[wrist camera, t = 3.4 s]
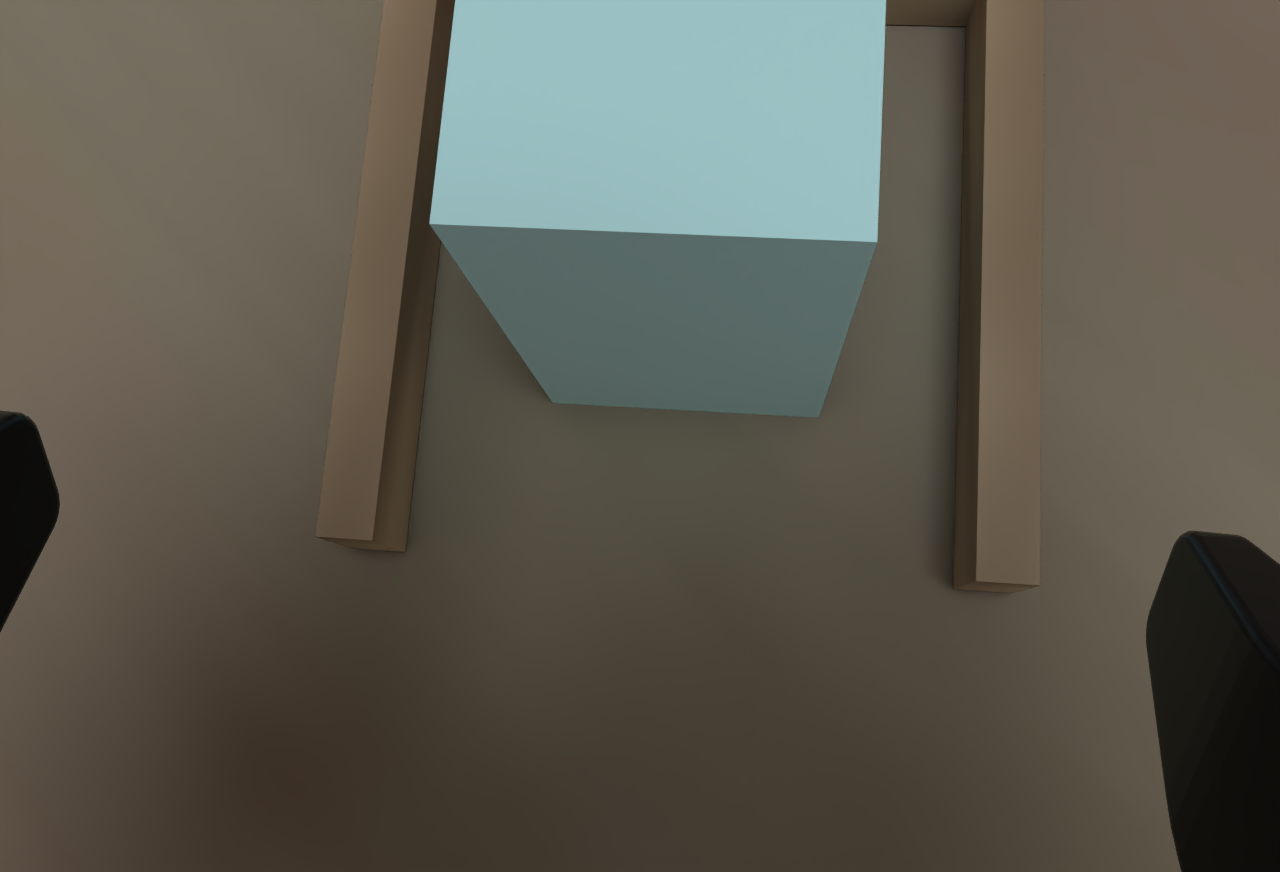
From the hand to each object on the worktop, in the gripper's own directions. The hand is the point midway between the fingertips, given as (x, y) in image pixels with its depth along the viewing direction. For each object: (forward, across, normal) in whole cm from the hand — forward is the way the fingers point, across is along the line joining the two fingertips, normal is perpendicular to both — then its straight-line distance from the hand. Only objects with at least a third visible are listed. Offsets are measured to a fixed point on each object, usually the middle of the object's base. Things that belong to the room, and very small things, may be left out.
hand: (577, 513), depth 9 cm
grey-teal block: (+13, 0, +4) cm, 14 cm away
